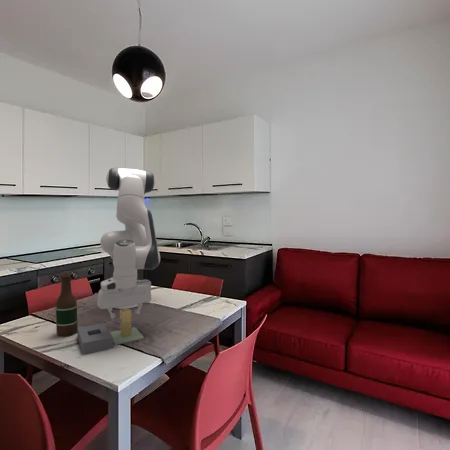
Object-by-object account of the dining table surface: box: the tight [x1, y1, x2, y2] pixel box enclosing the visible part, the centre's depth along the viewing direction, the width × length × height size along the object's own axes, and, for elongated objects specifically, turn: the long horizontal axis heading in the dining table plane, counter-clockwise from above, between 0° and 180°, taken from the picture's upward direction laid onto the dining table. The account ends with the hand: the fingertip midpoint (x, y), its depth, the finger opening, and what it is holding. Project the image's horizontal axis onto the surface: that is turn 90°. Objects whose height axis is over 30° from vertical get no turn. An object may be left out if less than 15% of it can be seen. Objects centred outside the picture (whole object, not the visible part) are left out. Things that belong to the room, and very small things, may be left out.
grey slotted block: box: [76, 322, 114, 355], centre depth 118 cm, size 16×10×4 cm, turn 32°
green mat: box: [109, 326, 145, 346], centre depth 124 cm, size 12×11×1 cm
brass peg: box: [119, 308, 132, 337], centre depth 124 cm, size 4×4×10 cm
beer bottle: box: [55, 273, 78, 338], centre depth 126 cm, size 8×8×24 cm
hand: (125, 316), depth 124 cm, fingers open, 8 cm apart
